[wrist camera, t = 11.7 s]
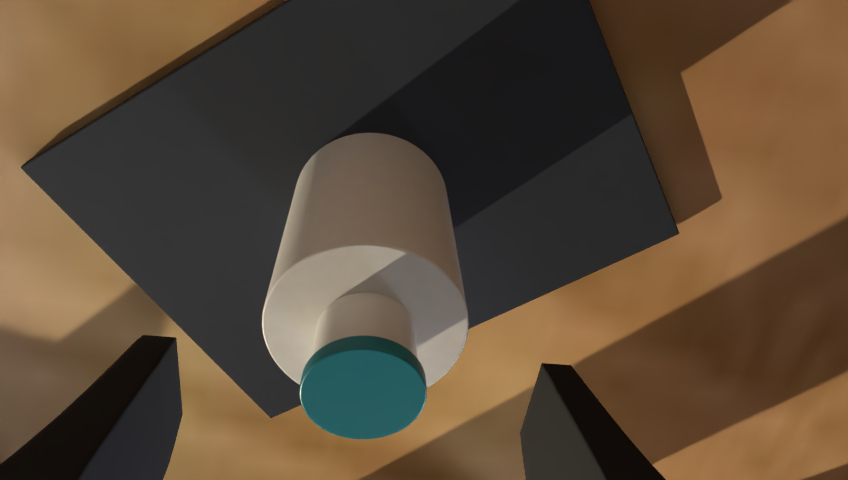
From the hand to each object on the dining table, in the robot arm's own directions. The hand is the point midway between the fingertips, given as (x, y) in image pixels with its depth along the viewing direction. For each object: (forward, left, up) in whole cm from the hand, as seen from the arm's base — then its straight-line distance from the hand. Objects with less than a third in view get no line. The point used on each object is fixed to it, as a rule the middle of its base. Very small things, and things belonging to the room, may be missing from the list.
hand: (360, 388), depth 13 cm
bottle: (0, 0, -8) cm, 8 cm away
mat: (0, 0, -8) cm, 8 cm away
